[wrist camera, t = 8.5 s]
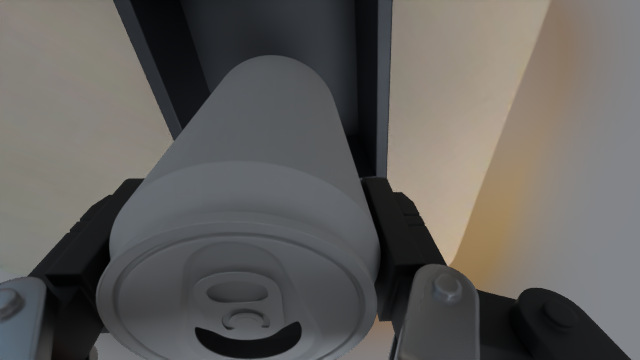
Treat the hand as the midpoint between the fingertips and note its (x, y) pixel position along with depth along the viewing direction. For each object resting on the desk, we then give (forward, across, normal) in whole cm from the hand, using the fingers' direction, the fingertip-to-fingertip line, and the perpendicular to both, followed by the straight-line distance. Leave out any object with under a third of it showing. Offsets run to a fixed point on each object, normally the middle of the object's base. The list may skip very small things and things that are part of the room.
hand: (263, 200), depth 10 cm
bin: (+17, 0, 0) cm, 17 cm away
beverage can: (+8, 0, 0) cm, 8 cm away
